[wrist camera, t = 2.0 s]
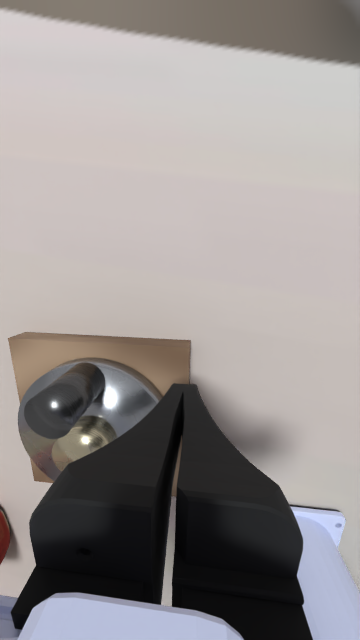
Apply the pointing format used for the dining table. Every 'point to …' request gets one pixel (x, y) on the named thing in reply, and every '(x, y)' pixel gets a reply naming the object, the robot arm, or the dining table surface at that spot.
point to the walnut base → (137, 353)
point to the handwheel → (81, 410)
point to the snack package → (4, 535)
